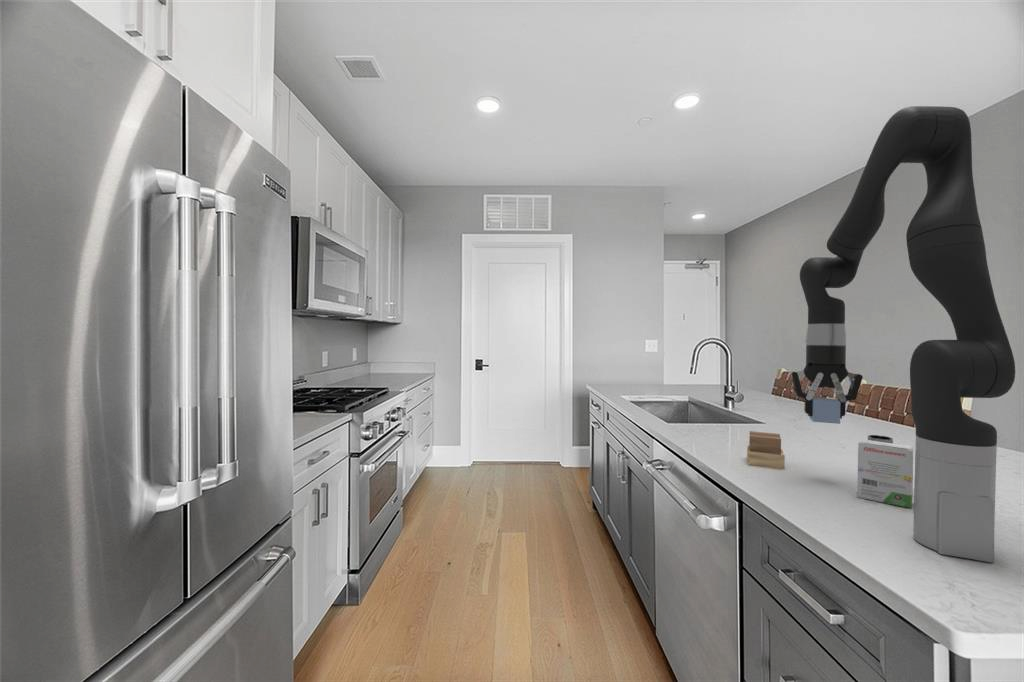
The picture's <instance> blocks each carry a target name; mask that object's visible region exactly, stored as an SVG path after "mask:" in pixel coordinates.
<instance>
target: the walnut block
mask: <svg viewBox="0 0 1024 682" xmlns="http://www.w3.org/2000/svg"><path fill="white" fill-rule="evenodd" d="M748 439H749V441H748V445H749V451H751V452H760V453H769V454H777V455H781V449H782V437H781V435H780V433H775V432H765V431H763V432H762V431H756V430H754V431H753V430H749V438H748Z"/></svg>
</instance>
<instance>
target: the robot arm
mask: <svg viewBox="0 0 1024 682" xmlns="http://www.w3.org/2000/svg"><path fill="white" fill-rule="evenodd" d="M972 147H973V146H972V129H971V122H970V118H969V116H968V115H967V113H966V112H965V111H964V110H963V109H960V108H958V107H955V106H933V105H932V106H928V105H927V106H926V105H924V106H923V105H921V106H920V105H919V106H918V105H915V106H914V105H913V106H907V107H903V108H901V109H899V110H898V111H896V112H895V113H894V114H892V116H891V117H889V119H888V120H887V122H886V123H885V125H884V126H883V127H882V129H881V131H880V133H879V134H878V137H877V139H876V141H875V143H874V146H873V147H872V150H871V153H870V154H869V157H868V159H867V163H866V164H865V166H864V168H863V170H862V173H861V175H860V179H859V181H858V183H857V186H856V189H855V191H854V193H853V196H852V197H851V200H850V202H849V204H848V206H847V208H846V210H845V212H844V214H843V215H842V216H841V218H840V220H839V221H838V223H837V225H836V226H835V228H834V229H833V231H832V233H831V234H830V235H829V238H828V239H827V241H826V249H827V250H828V252H830V253H831V254H832V255H835V256H836V257H835V256H834V257H830V256H829V257H826V256H825V257H824V256H823V257H819V256H818V257H810V258H807V260H805V261H804V262H803V264H802V265H801V267H800V270H799V281H800V285H801V288H802V292H803V294H804V297H805V300H806V301H805V302H806V305H807V328H806V329H807V330H806V336H805V337H806V338H805V347H806V348H805V367H804V368H803V370H799V371H797V370H796V371H794V370H792V371H791V372H789V373H790V378H791V381H792V386H793V389H794V393H795V395H796V396H797V397H798V398H802V399H803V400H804V412H805V414H807V416H808V417H810V416H812V415H813V401H812V398H814V395H815V394H816V393H817V390H818V388H829V389H832V391H833V392H834V394H835V396H836V398H837V399H836V400H838V401H840V420H842V419H843V417H845V416H846V408H847V406H846V403H847V402H849V401H854V400H856V399H857V396H858V394H859V390H860V387H861V384H862V382H863V379H864V377H863V375H862V374H860V373H853V372H849V371H848V369H847V367H846V366H847V363H846V361H847V360H846V356H847V354H846V353H847V332H846V331H847V330H846V304H845V301H844V300H843V299H840V298H838V297H833V296H830V295H829V293H828V291H827V289H841V288H844V287H847V286H848V285H849V284H850V283H852V282H853V280H854V279H855V277H856V275H857V273H858V268H859V267H860V263H861V259H862V257H863V255H864V254H863V253H864V252H865V249H866V248H867V247H868V246H869V244H870V243H871V241H872V239H874V237H875V236H876V234H877V233H878V231H879V229H880V228H881V226H882V224H883V223H884V222H883V221H884V218H885V213H886V211H885V207H886V206H885V193H886V192H885V191H886V185H887V184H888V181H889V179H890V177H891V176H892V174H893V173H894V172H895V170H896V169H897V168H898V167H899V165H900V164H922V165H923V167H924V169H925V175H926V183H927V184H926V185H927V187H926V194H925V197H924V199H923V201H922V202H921V203H920V206H919V207H918V209H917V210H916V211H915V214H914V215H913V217H912V218H911V220H910V222H909V224H908V226H907V229H906V237H905V238H906V247H907V253H908V260H909V261H908V262H909V266H910V270H911V271H912V273H913V275H914V277H915V278H916V279H917V280H918V281H919V283H920V284H921V285H922V286H923V287H924V288H925V290H926V291H928V293H929V294H931V296H933V297H934V299H936V301H937V302H938V303H939V304H940V305H941V306H942V307H943V309H944V311H946V312H947V315H948V316H949V318H950V320H951V322H952V325H953V328H954V332H955V337H956V339H931V340H930V339H929V340H926V341H923V342H921V343H920V344H919V345H917V347H916V348H915V349H914V350H913V352H912V355H911V357H910V358H911V359H910V361H909V363H910V364H909V365H910V366H909V381H910V383H909V385H910V402H911V403H910V406H911V407H910V409H911V410H910V411H911V416H912V420H913V423H914V427H915V446H914V449H915V452H914V453H915V454H914V481H913V530H912V532H913V535H912V536H913V540H915V541H916V542H918V543H920V545H923V546H925V547H927V548H929V549H932V550H934V551H936V552H937V553H938V554H940V555H945V556H952V557H957V558H964V559H969V560H975V561H981V562H988V563H993V562H994V557H995V534H996V533H995V525H996V524H995V523H996V521H995V520H996V516H995V515H996V490H997V489H996V488H997V486H996V485H997V484H996V483H997V481H996V480H997V451H998V449H997V447H998V446H997V445H998V431H997V429H996V427H995V426H993V425H992V424H990V423H988V422H985V421H981V420H979V419H976V418H974V417H971V416H970V415H968V414H967V413H966V412H965V411H964V410H963V407H962V400H961V398H967V399H969V398H970V399H972V398H973V399H995V398H1000V397H1002V396H1003V395H1005V394H1007V393H1008V392H1009V391H1010V390H1011V389H1012V387H1013V384H1014V383H1015V378H1016V362H1015V357H1014V354H1013V349H1012V347H1011V343H1010V341H1009V338H1008V334H1007V332H1006V329H1005V325H1004V323H1003V320H1002V318H1001V315H1000V312H999V308H998V305H997V301H996V298H995V293H994V289H993V285H992V280H991V275H990V271H989V270H990V269H989V265H988V261H987V260H988V259H987V252H986V251H987V250H986V245H985V239H984V233H983V232H984V231H983V227H982V224H981V220H980V215H979V211H978V205H977V197H976V189H975V184H974V173H973V157H972V156H973V155H972V154H973V153H972V151H973V148H972ZM803 376H805V378H807V379H808V381H809V384H808V386H807V390H806V391H805V392H803V389H802V385H801V382H800V381H802V380H803ZM846 378H848V381H849V383H850V385H849V388H848V392H847V393H846V394H845V393H844V392H845V391H844V389H843V387H842V384H841V383H842V382H843V381H844V380H845V379H846Z"/></svg>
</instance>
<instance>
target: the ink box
mask: <svg viewBox="0 0 1024 682" xmlns="http://www.w3.org/2000/svg"><path fill="white" fill-rule="evenodd" d="M857 444H858V446H857V477H856V478H857V479H856V481H857V482H856V483H857V485H856V487H857V489H856V497H858V498H861V499H866V500H870V501H875V502H879V503H882V504H889V505H894V506H897V507H903V508H906V509H911V508H912V506H913V500H914V446H913V445H905V444H897V443H893V444H892V443H885V442H878V441H871V440H868V439H861V440H860V441H858V443H857Z"/></svg>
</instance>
